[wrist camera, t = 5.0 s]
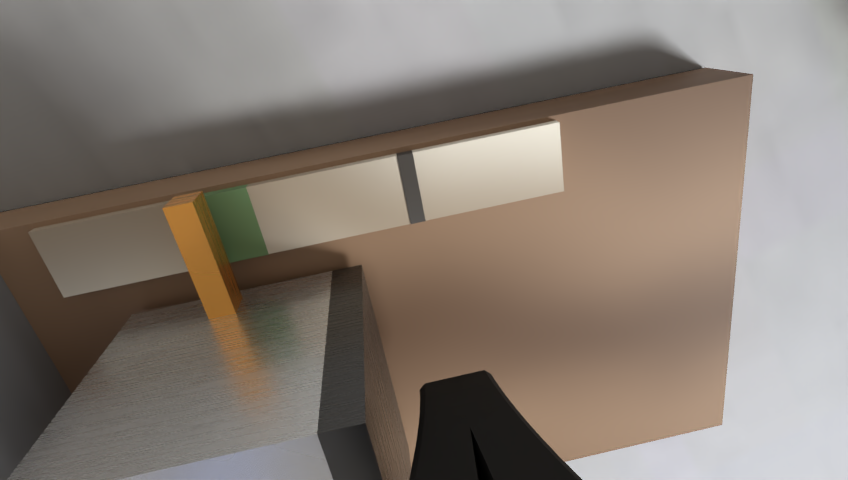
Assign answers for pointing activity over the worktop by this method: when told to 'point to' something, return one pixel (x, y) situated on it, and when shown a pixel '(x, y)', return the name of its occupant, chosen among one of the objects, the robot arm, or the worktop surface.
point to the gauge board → (440, 259)
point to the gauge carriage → (234, 383)
